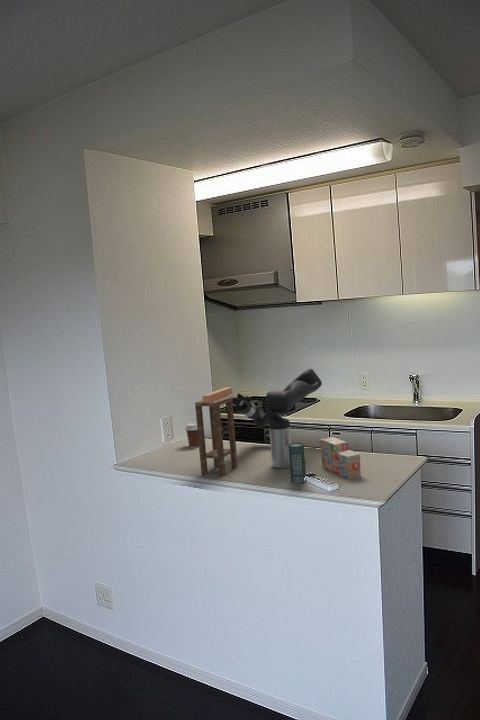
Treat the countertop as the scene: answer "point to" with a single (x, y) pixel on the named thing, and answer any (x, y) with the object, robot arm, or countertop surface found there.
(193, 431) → the coffee cup
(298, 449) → the can
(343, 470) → the stack of blocks
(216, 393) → the bar
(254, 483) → the countertop surface
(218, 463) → the stool
